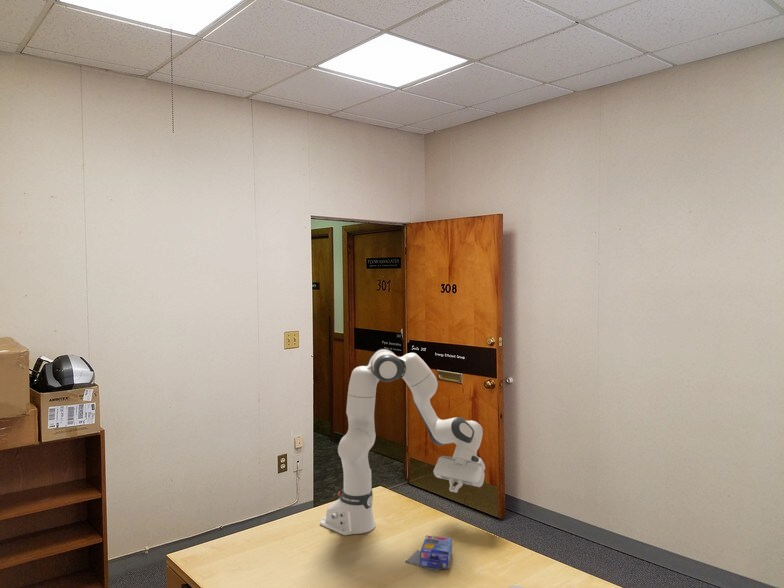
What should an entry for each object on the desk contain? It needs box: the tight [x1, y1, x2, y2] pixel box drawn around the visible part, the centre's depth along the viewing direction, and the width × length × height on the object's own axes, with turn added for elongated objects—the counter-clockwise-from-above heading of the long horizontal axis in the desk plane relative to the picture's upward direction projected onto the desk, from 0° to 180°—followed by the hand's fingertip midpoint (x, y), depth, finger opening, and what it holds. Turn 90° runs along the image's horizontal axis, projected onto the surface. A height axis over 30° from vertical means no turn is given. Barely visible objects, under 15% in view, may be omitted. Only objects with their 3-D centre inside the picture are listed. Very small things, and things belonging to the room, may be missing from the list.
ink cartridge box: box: [419, 534, 453, 570], centre depth 191 cm, size 10×6×14 cm
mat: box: [405, 549, 441, 572], centre depth 192 cm, size 12×9×1 cm
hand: (452, 491), depth 212 cm, fingers closed
